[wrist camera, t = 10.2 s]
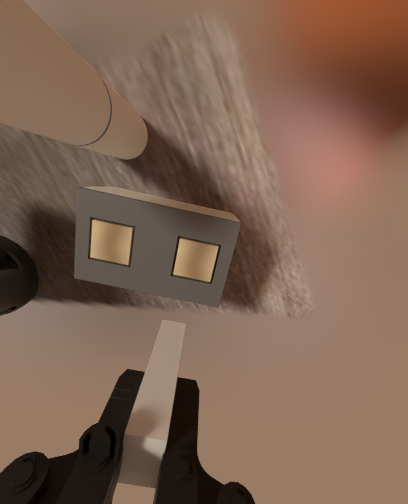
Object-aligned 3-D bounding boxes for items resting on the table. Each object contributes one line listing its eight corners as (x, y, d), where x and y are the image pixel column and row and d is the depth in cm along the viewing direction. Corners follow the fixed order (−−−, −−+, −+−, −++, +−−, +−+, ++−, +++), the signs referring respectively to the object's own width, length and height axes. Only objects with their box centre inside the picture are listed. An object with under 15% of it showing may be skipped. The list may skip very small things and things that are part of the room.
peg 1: (115, 241, 36) (90, 257, 28) (118, 212, 34) (92, 219, 26) (145, 248, 36) (128, 265, 28) (149, 218, 34) (132, 228, 27)
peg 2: (180, 255, 36) (173, 274, 28) (186, 226, 34) (179, 238, 27) (209, 261, 36) (210, 282, 28) (216, 233, 35) (218, 246, 27)
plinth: (107, 255, 38) (74, 278, 29) (113, 186, 35) (77, 187, 25) (216, 277, 39) (218, 307, 30) (232, 213, 36) (241, 223, 26)
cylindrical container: (143, 164, 34) (-16, 116, 10) (98, 153, 33) (-179, 73, 10) (151, 114, 32) (-29, -104, 8) (103, 101, 31) (-240, -169, 7)
